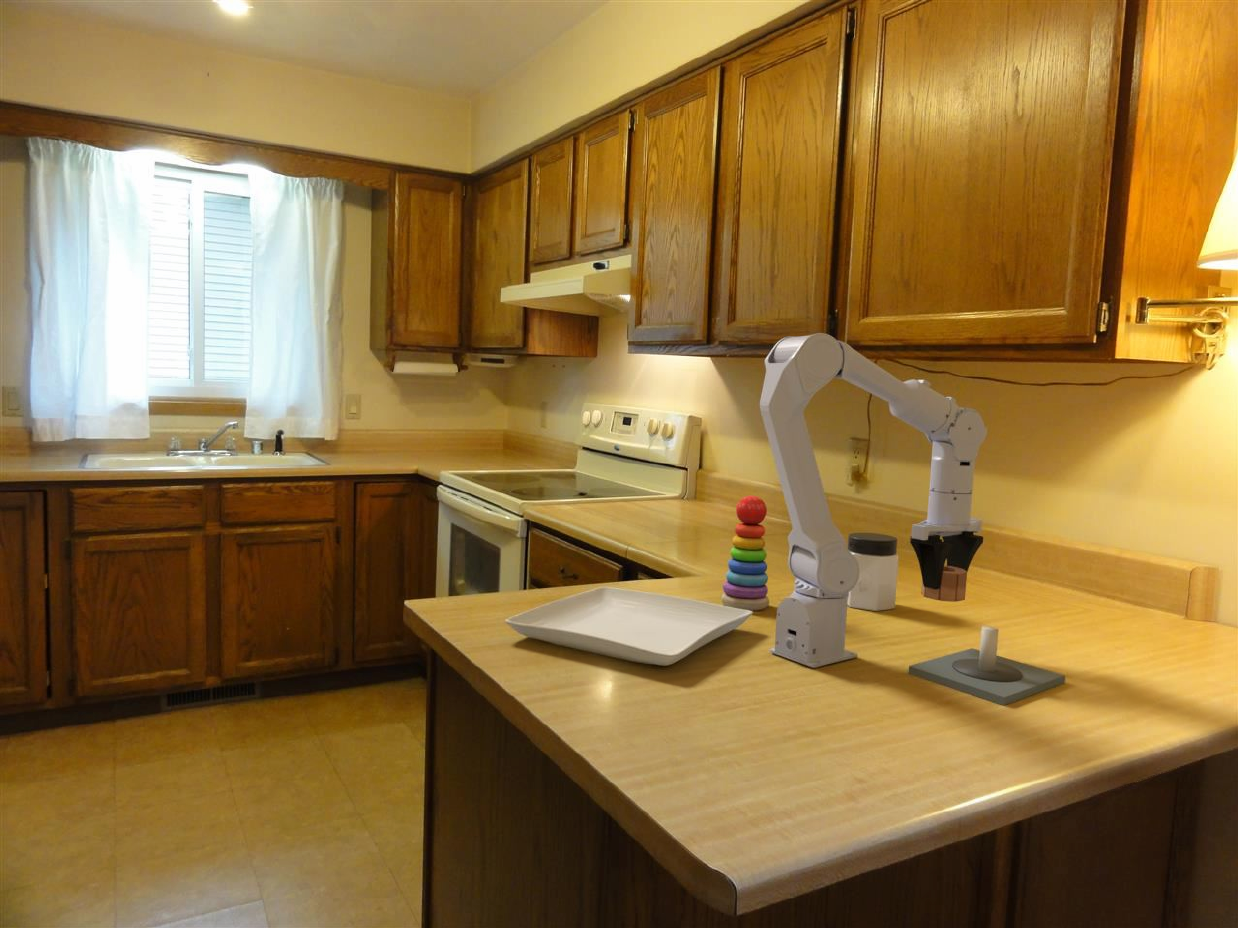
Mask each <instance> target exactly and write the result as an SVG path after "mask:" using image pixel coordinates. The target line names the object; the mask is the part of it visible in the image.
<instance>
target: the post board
mask: <svg viewBox="0 0 1238 928" xmlns="http://www.w3.org/2000/svg"><path fill="white" fill-rule="evenodd" d="M998 639H999V628H997V627H993V626H982V627H981V633H980V645H979V649H976V648H973V647H972V648H969V649H968V648H967V649H964V650H960V651H958V652H954V653H950V654H946V655H943V656H939V657H935V658H932V659H929V660H924V661H922V662H918V663H914V664H911V665H909V666H908V674H910V675H912V676H915V677H918V678H921V679H923V680H928V681H930V682H933V683H936V684H939V685H942V686H945V687H948V688H950V689H954V690H956V691H960V692H963V693H965V694H969V695H971V696H975V697H977V698H981V699H983V700H986V701H989V702H992V703H994V704H998V705H1002V706H1006V705H1009V704H1011V703H1014V702H1017V701H1020V700H1022V699H1024V698H1028V697H1030V696H1032V695H1035V694H1039V693H1041V692H1044V691H1046V690H1049V689H1052V688H1055V687H1057V686H1061V685H1062V684H1065V683H1066V674H1065V675H1064V674H1062V673H1059V672H1055V671H1052V670H1048V669H1045V668H1041V667H1037V666H1036V665H1035V666H1034V665H1031V664H1027V663H1025V662H1022V661H1021V662H1020V661H1018V660H1015V659H1010V658H1007V657H1003V656H1000V655H997V653H998Z"/></svg>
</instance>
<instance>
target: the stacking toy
mask: <svg viewBox="0 0 1238 928" xmlns="http://www.w3.org/2000/svg"><path fill="white" fill-rule="evenodd" d="M767 509H768V508H767V505H766V503H765V501H764V500H763V499H762V498H761V497H759V496H756V495H746V496H744V497H742V498H741V499H740V500H739V501H738V502H737V504H736V509H735V510H736V511H735V513H736V516H737V518H738V519H739V521H740V522H739V523H738V524H736V525H735V526H734V527H735V528H734V532H735V534H736V535H734V536H733V537H732V539H731V542H732V545H733V547H732V548H731V549H730V556H731V557H732V558H730V559H729V560H728V569H729V570H727V572H726V574H725V578H726V580H727V581H725V582H724V583H723V585H722V591H723V592H724V593H722V594H721V603H722V604H723V606H728V607H733V608H738V609H744V610H750V611H752V612H754V611H755V612H756V611H761V610H764V609H766V608H767V607H769V604H770V599H769V597H768V595H767V594H768V592H769V588H768V586H767V582H768V580H769V576H768V574H767V573H766V572H767V570H768V564H767V563H766V561H765V560H766V559H767V551H766V550H765V549H764V548H765V546H766V540H765V539H764V538H763V536H765V534H766V528H765V526H763V525H762V524H761V523H762V522H763V521H764V520H765V518H766V517H767V513H768V512H767V511H768V510H767Z"/></svg>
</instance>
